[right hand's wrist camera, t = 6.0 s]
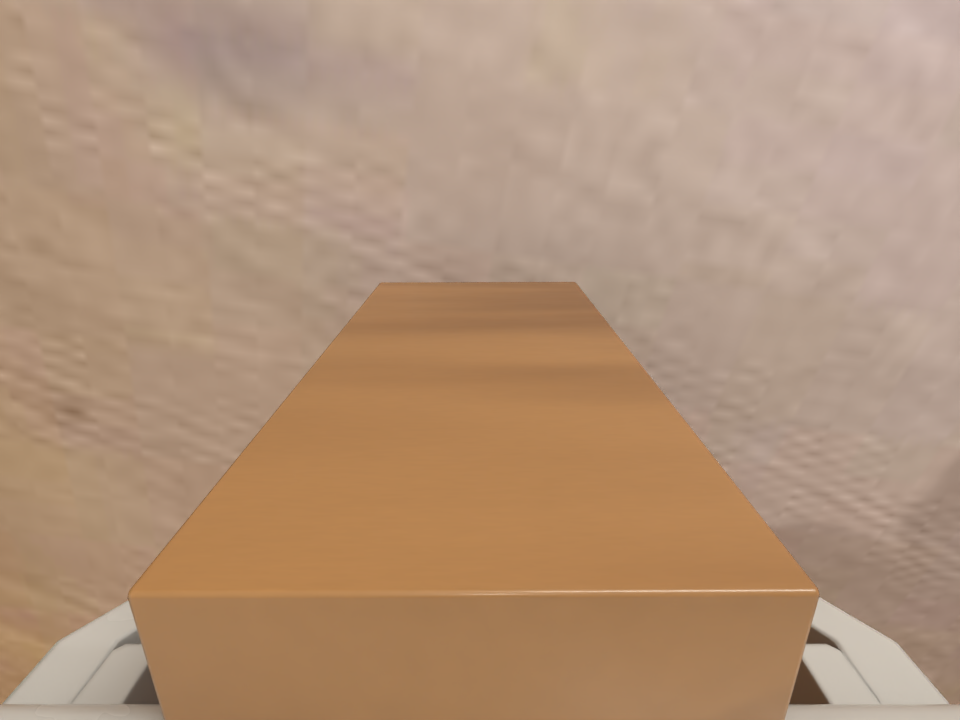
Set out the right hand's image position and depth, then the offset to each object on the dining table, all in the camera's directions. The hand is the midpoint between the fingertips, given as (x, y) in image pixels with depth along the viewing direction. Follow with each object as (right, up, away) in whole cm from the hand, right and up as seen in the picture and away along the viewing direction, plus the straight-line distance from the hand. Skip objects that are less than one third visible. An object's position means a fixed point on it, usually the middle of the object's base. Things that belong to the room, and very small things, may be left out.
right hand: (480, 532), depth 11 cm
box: (0, -6, +10) cm, 12 cm away
